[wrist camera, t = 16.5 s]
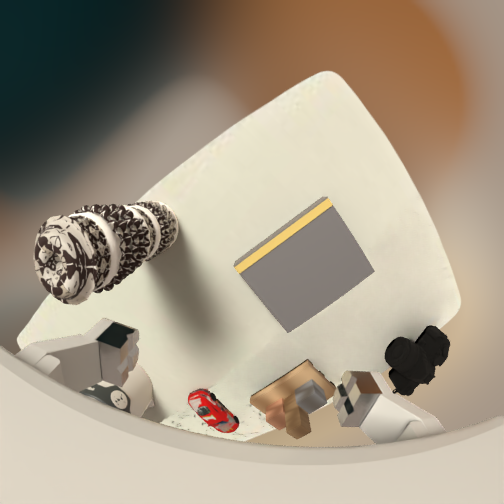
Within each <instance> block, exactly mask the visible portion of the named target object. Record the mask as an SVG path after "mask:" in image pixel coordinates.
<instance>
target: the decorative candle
mask: <svg viewBox="0 0 504 504" xmlns="http://www.w3.org/2000/svg"><path fill="white" fill-rule="evenodd" d="M178 231H179V229H178V220H177V217H176V215H175V213H174V211H173V210H172V209H171V208H170V207H169V206H168V205H167V204H164V203H161V202H158V201H155V202H152V201H149V202H148V201H146V202H140V203H138V202H137V203H134V204H128V205H127V206H125V205H118V206H116V205H115V204H111V205H109V206H107V205H102V206H99V205H97V204H96V205H93V206H91V208H90V207H89V206H87V205H86V206H83V207H82V208H81V210H76V211H75V212H74V214H72V215H70V216H69V217H65V216H63V215H62V216H55V217H51V218H50V219H48V220H47V221H46V222H45V223H44V224H43V225H42V226H41V228H40V230H39V233H38V235H37V237H36V243H35V248H34V265H35V270H36V273H37V275H38V278H39V280H40V282H41V284H42V285H43V286H44V287H45V288H46V290H47V291H48V292H50V293H51V294H52V295H53V297H55V298H57V299H58V300H60V301H61V302H63V303H65V304H72V305H78V304H80V303H81V302H83V301H85V300H87V299H88V297H89V296H90V294H91V292H95V293H101V292H102V291H103V289H104V290H106V291H109V290H111V289H112V288H113V287H114V284H116V285H117V284H119V283H121V281H122V280H123V279H125V278H126V277H127V276H128V275H129V274H132V273H133V272H134V271H135V269H136V268H137V267H140V266H141V265H142V263H143V262H144V260H145V261H149V260H151V258H154V257H156V256H157V255H159V254H160V253H162V252H164V251H165V250H167V249H168V248H170V246H171V245H172V244H173V243H174V242H175V240H176V238H177V234H178ZM117 274H118V276H117ZM105 285H106V286H105Z"/></svg>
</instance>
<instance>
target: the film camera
mask: <svg viewBox="0 0 504 504" xmlns="http://www.w3.org/2000/svg"><path fill="white" fill-rule="evenodd" d="M449 347H450V342H449V340H448V339H447V336H446V335H445V334H444V333H443V332H441V331H440V330H439V329H438V328H437V327H436V326H432V325H429V326H427V327H426V328H425V329H424V331H423V332H422V333H421V335H420V336H419V337H418V338H417V340H416V341H415V342H412V341H410V340H409V339H408V338H404V337H397V338H396V339H394V340H393V341H392V342H391V343H390V344H389V345H388V347H387V349H386V351H385V360H386V362H387V363H388V365H389V366H390V367H392V369H391V370H390V371H389V378H390V379H391V381H392V382H393V384H394V386H395V387H396V389H395V390H396V391H395V392H394V390H393V391H392V392H393V394H395V393H396V392H398V393H400V394H401V395H407V396H409V395H411V394H412V393H413V392H414V389H415V388H416V387H417V386H418V385H419V384H425V383H426V384H427V385H428V384H429V382H430V381H431V380H432V379H433V378H434V377H435V376H434V373H435V366H437V365H439V366H441V365H442V364H443V363H444V362H445V360H446V359H447V357H448V351H449Z"/></svg>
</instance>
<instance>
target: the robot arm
mask: <svg viewBox="0 0 504 504" xmlns="http://www.w3.org/2000/svg"><path fill="white" fill-rule="evenodd" d="M138 340H139V331H138V329H135V328H132V327H129V326H126V325H123V324H120V323H118V322H115V321H112V320H109V319H106V318H102V319H101V320H100V321H99V322H98V323H96V324H95V325H94V326H93V327H92V328H91V329H90V330H89V331H88V332H86V333H85V334H84V335H82V334H78V335H73V336H67V337H62V338H56V339H51V340H45V341H39V342H33V343H30V344H29V345H27V346H26V347H25V348H24V349H22V350H21V351H20V352H19V353H18V354H16V355H13V354H12V353H10V352H9V351H8V350H6V349H5V348H3V347H2V346H1V345H0V504H504V417H503V416H496V417H493V418H491V419H488V420H485V421H482V422H479V423H477V424H473V425H471V426H467V427H463V428H460V429H457V430H453V431H449V432H446V431H445V430H444V428H443V427H442V425H441V424H440V422H439V421H438V419H437V418H436V417H435V416H433V415H431V414H429V413H428V412H426V411H424V410H423V409H421V408H419V407H417V406H416V405H414V404H412V403H411V402H409V401H407V400H406V399H404V398H402V397H401V396H399V395H397V394H393V392H392V391H391V389H390V387H389V386H388V384H387V383H386V381H385V380H384V378H383V376H382V375H381V373H379V372H372V371H368V372H365V371H345V372H344V374H343V376H342V378H341V380H342V384H340V385H339V386H337V388H336V390H335V392H334V396H333V404H334V407H335V409H337V410H338V411H339V413H338V415H337V416H338V419H339V422H340V425H341V426H342V427H359V428H360V429H361V430H362V431H363V432H364V433H365V434H366V435H367V436H368V437H370V438H371V439H372V440H373V441H374V442H375V443H376V445H366V446H350V447H297V446H281V445H269V444H259V443H251V442H243V441H237V440H230V439H224V438H219V437H213V436H208V435H204V434H199V433H194V432H190V431H186V430H182V429H178V428H174V427H171V426H167V425H164V424H160V423H157V422H154V421H151V420H147V419H144V418H141V417H142V415H143V413H144V412H145V410H146V409H147V408H151V407H154V405H155V404H154V400H153V398H152V393H153V387H152V382H151V380H150V377H149V376H148V374H147V373H146V371H145V370H144V369H143V368H142V367H141V366H140V365H139V364H138V363H137V360H138V355H139V348H138V347H137V345H136V343H137V342H138Z"/></svg>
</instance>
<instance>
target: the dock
mask: <svg viewBox="0 0 504 504" xmlns="http://www.w3.org/2000/svg"><path fill="white" fill-rule="evenodd" d="M234 268H235V269H236V270H237V272H238V273H239V274H240V275H241V276H242V278H243V279H244V280H245V281H246V283H247V284H248V285H249V286H250V287H251V289H252V290H253V291H254V292H255V294H256V295H257V296H258V297H259V299H260V300H261V301H262V302H263V304H264V305H265V306H266V307H267V308H268V310H269V311H270V312H271V313H272V315H273V316H274V317H275V318H276V319H277V321H278V322H279V323H280V324H281V325H282V327H283V328H284V329H285V330H286V331H287V333H289V332H291V331H292V330H294V329H295V328H297V327H298V326H300V325H301V324H303V323H304V322H306V321H307V320H309V319H310V318H312V317H313V316H315V315H316V314H317V313H319V312H320V311H322V310H323V309H325V308H326V307H327V306H329V305H330V304H332V303H333V302H334V301H336V300H337V299H339V298H340V297H341V296H343V295H344V294H346V293H347V292H348V291H350V290H351V289H352V288H354V287H355V286H356V285H358V284H359V283H360V282H362V281H363V280H364V279H365V278H367V277H368V276H369V275H371V274H372V273H373V272H374V269H373V268H372V266H371V264H370V263H369V261H368V259H367V258H366V256H365V254H364V253H363V251H362V249H361V248H360V246H359V245H358V243H357V241H356V240H355V238H354V237H353V235H352V233H351V232H350V230H349V229H348V227H347V226H346V224H345V223H344V221H343V220H342V218H341V217H340V215H339V214H338V212H337V211H336V209H335V208H334V206H333V204H332V203H331V201H330V200H329V199H328V198H327V197H322V198H320V199H319V200H317V201H316V202H315V203H313V204H312V205H311V206H309V207H308V208H307V209H305V210H304V211H303V212H301V213H300V214H299V215H297V216H296V217H294V218H293V219H292V220H290V221H289V222H288V223H286V224H285V225H284V226H282V227H281V228H280V229H278V230H277V231H276V232H274V233H273V234H272V235H270V236H269V237H267V238H266V239H265V240H263V241H262V242H261V243H259V244H258V245H257V246H255V247H254V248H253V249H251V250H250V251H249V252H247V253H246V254H245V255H243V256H242V257H241V258H239V259H238V260H236V261H235V264H234Z"/></svg>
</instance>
